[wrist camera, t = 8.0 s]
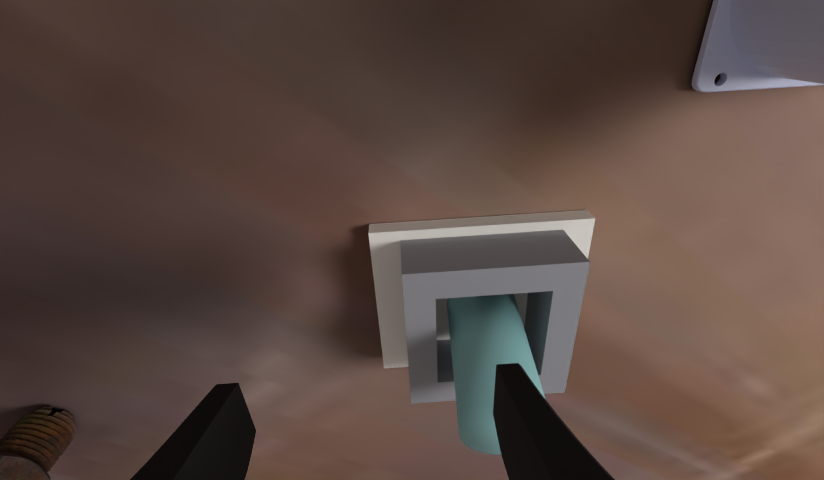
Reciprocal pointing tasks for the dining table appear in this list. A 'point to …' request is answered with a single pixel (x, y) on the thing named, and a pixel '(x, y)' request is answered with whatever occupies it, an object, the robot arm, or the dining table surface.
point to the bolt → (35, 444)
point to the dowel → (484, 361)
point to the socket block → (479, 288)
